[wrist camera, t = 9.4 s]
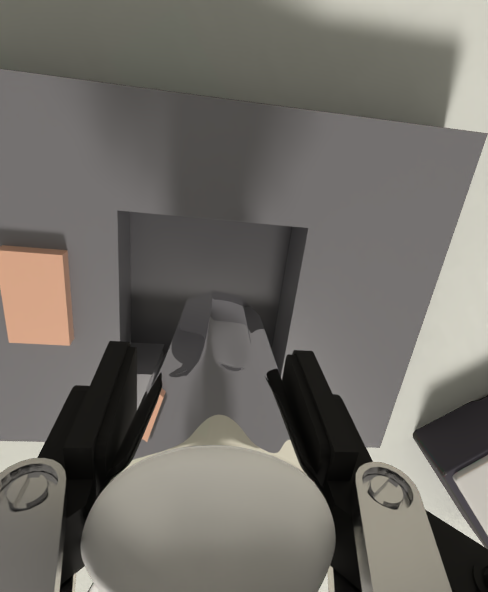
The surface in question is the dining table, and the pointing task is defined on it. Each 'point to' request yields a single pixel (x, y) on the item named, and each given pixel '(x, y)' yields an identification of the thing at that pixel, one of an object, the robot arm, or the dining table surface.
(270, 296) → the socket plate
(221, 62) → the dining table surface
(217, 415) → the milkshake
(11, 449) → the dining table surface
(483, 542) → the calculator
